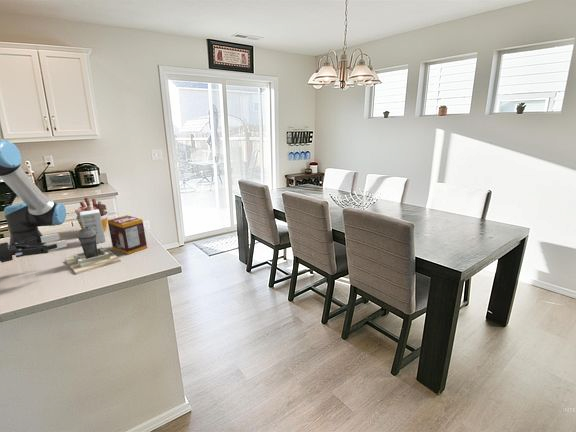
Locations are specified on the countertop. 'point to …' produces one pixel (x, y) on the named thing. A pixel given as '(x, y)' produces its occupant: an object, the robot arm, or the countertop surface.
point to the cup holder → (91, 261)
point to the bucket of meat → (95, 206)
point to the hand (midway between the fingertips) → (62, 239)
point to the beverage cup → (88, 241)
